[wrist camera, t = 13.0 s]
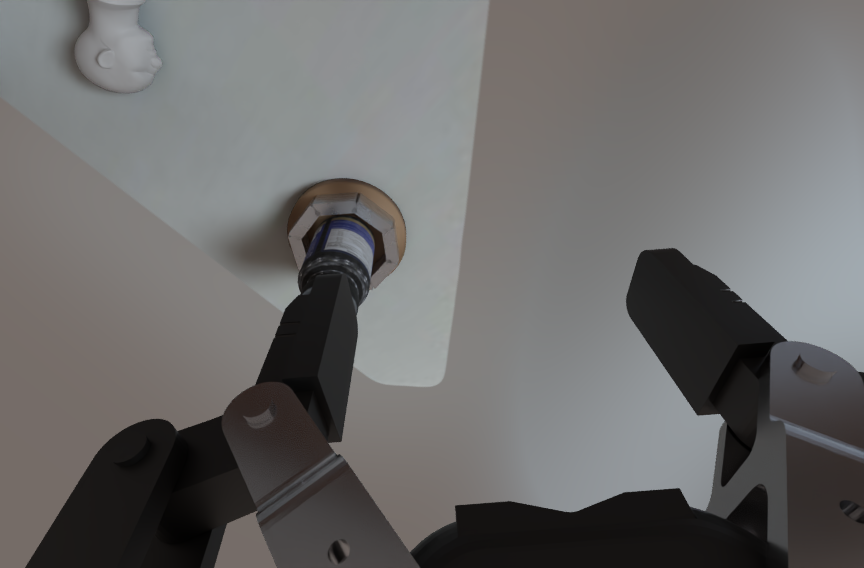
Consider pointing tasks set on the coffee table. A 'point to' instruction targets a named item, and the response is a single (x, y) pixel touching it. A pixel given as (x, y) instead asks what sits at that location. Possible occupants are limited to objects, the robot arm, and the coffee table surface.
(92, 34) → the white head bust
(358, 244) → the pill bottle
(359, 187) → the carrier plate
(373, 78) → the coffee table surface
